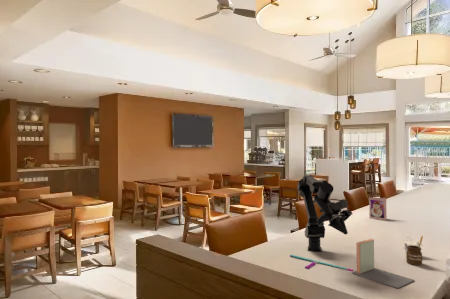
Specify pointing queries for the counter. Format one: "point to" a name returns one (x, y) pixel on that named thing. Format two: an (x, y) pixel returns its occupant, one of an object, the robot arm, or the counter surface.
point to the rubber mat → (385, 278)
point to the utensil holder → (414, 254)
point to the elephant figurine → (412, 245)
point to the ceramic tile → (365, 255)
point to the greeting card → (377, 208)
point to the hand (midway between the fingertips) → (346, 233)
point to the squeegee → (317, 263)
